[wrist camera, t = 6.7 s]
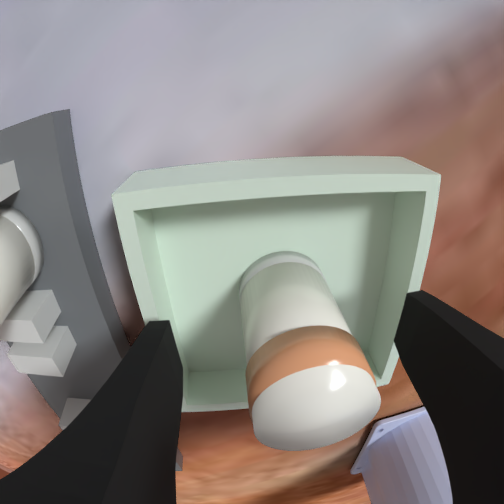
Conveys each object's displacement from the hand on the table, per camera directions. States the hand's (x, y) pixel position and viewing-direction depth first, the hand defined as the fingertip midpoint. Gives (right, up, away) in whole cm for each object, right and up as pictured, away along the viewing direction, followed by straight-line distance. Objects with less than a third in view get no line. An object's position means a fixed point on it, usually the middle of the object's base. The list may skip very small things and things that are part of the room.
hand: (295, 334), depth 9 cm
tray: (0, +1, +3) cm, 3 cm away
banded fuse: (0, +1, +2) cm, 2 cm away
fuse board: (-10, -3, +4) cm, 11 cm away
